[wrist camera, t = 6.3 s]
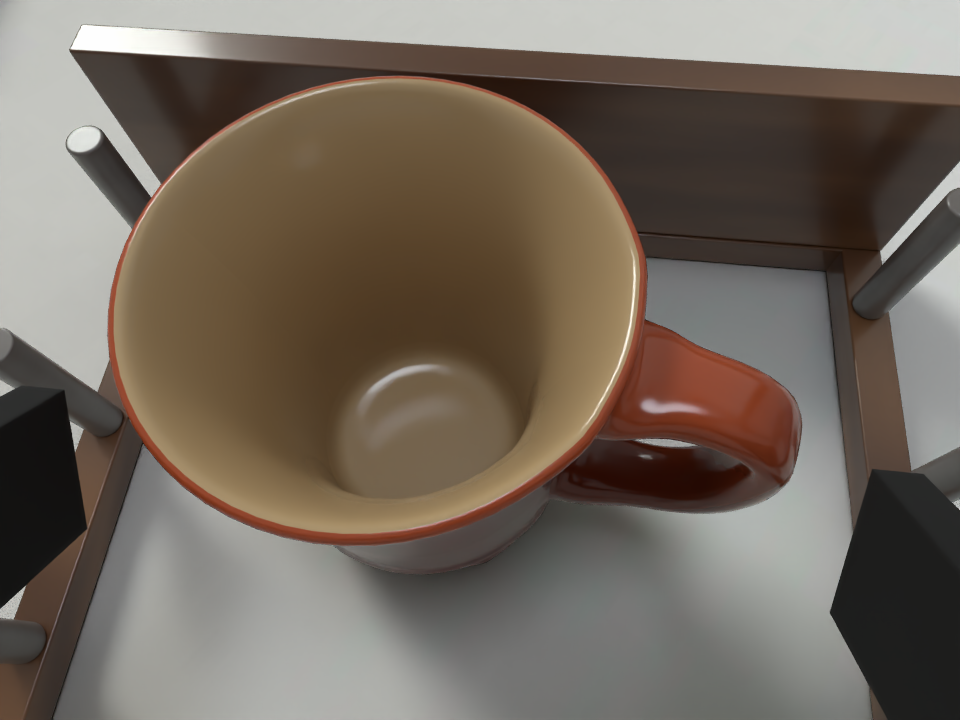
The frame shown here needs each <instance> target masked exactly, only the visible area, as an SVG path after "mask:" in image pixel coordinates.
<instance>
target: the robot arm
mask: <svg viewBox="0 0 960 720" xmlns="http://www.w3.org/2000/svg"><path fill="white" fill-rule="evenodd" d="M86 530H87V523H86V516H85V510H84V504H83V498H82V492H81V486H80V480H79V474H78V468H77V462H76V456H75V450H74V444H73V438H72V432H71V426H70V420H69V414H68V408H67V402H66V396H65V390H63V389H52V388H42V387H32V386H22V385H21V386H19V387H18V388H16V389H14V390H12V391H10V392H8V393H6V394H4V395H3V396H1V397H0V608H2V607H3V606H4V605H5V604H6V603H7V602H8V601H9V600H10V599H11V598H12V597H14V596H15V595H16V594H17V593H18V592H19V591H20V590H21V589H22V588H23V587H24V586H26V585H27V584H28V583H29V582H30V581H31V580H32V579H33V578H34V577H35V576H37V575H38V574H39V573H40V572H41V571H42V570H43V569H44V568H45V567H46V566H47V565H49V564H50V563H51V562H52V561H53V560H54V559H55V558H56V557H57V556H58V555H59V554H61V553H62V552H63V551H64V550H65V549H66V548H67V547H68V546H69V545H70V544H71V543H73V542H74V541H75V540H76V539H77V538H78V537H79V536H80V535H81V534H82V533H83V532H85V531H86ZM830 614H831V616H832V618H833V619H834V621H835V623H836V625H837V627H838V629H839V631H840V632H841V634H842V636H843V638H844V640H845V642H846V644H847V645H848V647H849V649H850V651H851V653H852V655H853V657H854V658H855V660H856V662H857V664H858V666H859V668H860V669H861V671H862V673H863V675H864V677H865V679H866V681H867V682H868V684H869V686H870V688H871V690H872V692H873V694H874V695H875V697H876V699H877V701H878V703H879V705H880V707H881V708H882V710H883V712H884V714H885V716H886V718H887V720H960V510H959V509H958V508H957V507H956V506H955V505H954V504H953V503H952V502H951V501H950V500H949V499H948V498H947V497H946V496H945V495H944V494H943V493H942V492H941V491H940V490H939V489H938V488H937V487H936V486H935V485H934V484H933V483H932V482H931V481H930V480H929V479H928V478H927V477H926V476H925V475H924V474H920V473H910V472H899V471H889V470H879V469H872V471H871V474H870V477H869V481H868V484H867V488H866V491H865V494H864V498H863V501H862V505H861V508H860V511H859V515H858V518H857V522H856V525H855V529H854V532H853V535H852V539H851V542H850V546H849V549H848V552H847V556H846V559H845V563H844V566H843V569H842V573H841V576H840V580H839V583H838V586H837V590H836V593H835V597H834V600H833V603H832V607H831V610H830Z"/></svg>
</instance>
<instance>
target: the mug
mask: <svg viewBox="0 0 960 720" xmlns="http://www.w3.org/2000/svg"><path fill="white" fill-rule="evenodd" d="M647 280H648V275H647V265H646V256H645V253H644V249H643V246H642V243H641V240H640V238H639V235H638V232H637V230H636V228H635V225H634V223H633V221H632V218H631V216H630V214H629V212H628V210H627V208H626V206H625V204H624V202H623V200H622V198H621V197H620V195H619V193H618V192H617V190H616V188H615V187H614V185H613V184H612V182H611V180H610V179H609V177H608V176H607V175H606V173H605V172H604V171H603V170H602V168H601V167H600V166H599V164H598V163H597V162H596V161H595V159H594V158H593V157H592V156H591V155H590V154H589V153H588V152H587V151H586V150H585V149H584V148H583V147H582V146H581V145H580V144H579V143H578V142H577V141H576V140H574V139H573V138H572V137H571V136H570V135H569V134H567V133H566V132H565V131H564V130H562V129H561V128H560V127H558V126H557V125H555V124H554V123H553V122H551V121H550V120H548V119H547V118H545V117H544V116H542V115H540V114H539V113H537V112H535V111H533V110H532V109H530V108H528V107H527V106H524V105H522V104H520V103H518V102H516V101H514V100H512V99H510V98H507V97H505V96H502V95H499V94H497V93H494V92H491V91H489V90H486V89H482V88H479V87H475V86H472V85H468V84H464V83H459V82H454V81H449V80H444V79H436V78H428V77H416V76H376V77H366V78H355V79H350V80H344V81H338V82H332V83H328V84H324V85H320V86H316V87H312V88H309V89H306V90H303V91H300V92H296V93H293V94H290V95H288V96H285V97H283V98H280V99H278V100H275V101H273V102H270V103H268V104H266V105H264V106H262V107H260V108H258V109H256V110H254V111H252V112H250V113H248V114H246V115H244V116H243V117H241V118H239V119H238V120H236V121H234V122H233V123H231V124H229V125H228V126H226V127H225V128H223V129H222V130H220V131H219V132H218V133H216V134H215V135H213V136H212V137H210V138H209V139H208V140H207V141H205V142H204V143H203V144H202V145H200V146H199V147H198V148H197V149H196V150H194V151H193V152H192V153H191V154H190V155H189V156H188V157H187V158H186V159H185V160H184V161H183V162H182V163H181V164H180V165H178V166H177V167H176V168H175V169H174V171H173V172H172V173H171V174H170V175H169V176H168V177H167V179H166V180H165V181H164V182H163V183H162V184H161V185H160V187H159V188H158V189H157V191H156V192H155V194H154V195H153V196H152V198H151V199H150V200H149V202H148V203H147V205H146V206H145V208H144V210H143V211H142V213H141V215H140V216H139V218H138V220H137V221H136V223H135V225H134V227H133V229H132V231H131V233H130V235H129V237H128V239H127V241H126V243H125V246H124V248H123V251H122V254H121V257H120V259H119V262H118V265H117V268H116V272H115V276H114V280H113V284H112V288H111V294H110V301H109V309H108V333H107V336H108V347H109V358H110V363H111V368H112V373H113V377H114V382H115V385H116V388H117V391H118V394H119V397H120V399H121V402H122V405H123V407H124V409H125V411H126V413H127V415H128V417H129V419H130V422H131V424H132V426H133V427H134V429H135V431H136V432H137V434H138V435H139V437H140V438H141V440H142V441H143V443H144V444H145V446H146V448H147V449H148V450H149V452H150V453H151V454H152V455H153V456H154V458H155V459H156V460H157V461H158V462H159V464H160V465H161V466H162V467H163V468H164V469H165V470H166V471H167V472H168V473H169V474H170V475H171V476H172V477H173V478H174V479H175V480H176V481H177V482H178V483H179V484H180V485H182V486H183V487H184V488H185V489H186V490H188V491H189V492H190V493H192V494H193V495H195V496H196V497H197V498H199V499H200V500H201V501H203V502H204V503H205V504H207V505H209V506H211V507H212V508H214V509H216V510H217V511H219V512H221V513H223V514H224V515H226V516H228V517H230V518H232V519H234V520H237V521H239V522H241V523H243V524H246V525H248V526H250V527H253V528H255V529H258V530H261V531H264V532H267V533H271V534H274V535H277V536H280V537H283V538H288V539H293V540H298V541H303V542H308V543H313V544H322V545H333V546H334V547H335V548H337V549H338V550H340V551H341V552H342V553H344V554H346V555H348V556H349V557H351V558H353V559H355V560H357V561H359V562H361V563H364V564H366V565H368V566H371V567H375V568H378V569H381V570H385V571H390V572H395V573H402V574H435V573H443V572H448V571H453V570H457V569H460V568H464V567H467V566H472V565H477V564H482V563H485V562H488V561H489V560H491V559H492V558H494V557H495V556H496V555H498V554H499V553H501V552H502V551H503V550H504V549H506V548H507V547H508V546H510V545H511V544H512V543H513V542H515V541H516V540H517V539H518V538H519V537H520V536H522V535H523V534H524V533H525V532H526V531H527V530H528V529H529V528H530V527H531V526H532V525H533V524H534V523H535V522H536V521H537V519H538V518H539V517H540V515H541V514H542V512H543V511H544V509H545V507H546V505H547V504H548V502H549V500H559V501H565V502H570V503H576V504H585V505H617V506H631V507H640V508H647V509H654V510H660V511H668V512H677V513H691V514H710V513H723V512H729V511H735V510H739V509H743V508H747V507H750V506H753V505H756V504H759V503H761V502H763V501H765V500H767V499H769V498H770V497H772V496H773V495H775V494H776V493H778V492H779V491H780V490H781V489H782V488H783V487H784V486H785V485H786V484H787V483H788V482H789V480H790V478H791V476H792V474H793V472H794V468H795V465H796V461H797V456H798V451H799V446H800V440H801V433H802V418H801V413H800V410H799V407H798V405H797V402H796V400H795V398H794V397H793V396H792V395H791V393H790V392H789V391H788V390H787V389H786V388H785V387H784V386H782V385H781V384H780V383H778V382H777V381H776V380H774V379H773V378H772V377H770V376H769V375H767V374H765V373H763V372H761V371H760V370H758V369H756V368H753V367H751V366H749V365H747V364H744V363H742V362H739V361H737V360H734V359H731V358H729V357H726V356H723V355H720V354H718V353H715V352H712V351H710V350H707V349H705V348H702V347H700V346H698V345H696V344H694V343H692V342H691V341H689V340H687V339H685V338H684V337H682V336H680V335H679V334H677V333H675V332H674V331H672V330H670V329H667V328H665V327H663V326H660V325H658V324H655V323H652V322H650V321H647V320H645V311H646V299H647ZM637 439H670V440H678V441H682V442H687V443H691V444H695V445H698V446H690V447H667V446H658V445H652V444H648V443H643V442H640V441H636V440H637Z"/></svg>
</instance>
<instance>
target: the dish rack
mask: <svg viewBox="0 0 960 720" xmlns="http://www.w3.org/2000/svg"><path fill="white" fill-rule="evenodd" d="M69 51H70V53H71V54H72V56H73V57H74V59H75V60H76V62H77V63H78V64H79V66H80V67H81V69H82V70H83V72H84V73H85V75H86V76H87V77H88V79H89V80H90V82H91V83H92V85H93V86H94V88H95V89H96V90H97V92H98V93H99V95H100V96H101V98H102V99H103V101H104V102H105V103H106V105H107V106H108V108H109V109H110V111H111V112H112V114H113V115H114V116H115V118H116V119H117V121H118V122H119V124H120V125H121V127H122V128H123V129H124V131H125V132H126V134H127V135H128V137H129V138H130V139H131V141H132V142H133V144H134V145H135V147H136V148H137V150H138V151H139V152H140V154H141V155H142V157H143V158H144V160H145V161H146V163H147V164H148V165H149V167H150V168H151V170H152V171H153V173H154V174H155V176H156V177H157V178H158V180H159V181H160V183H161V184H162V183H163V182H164V181H165V180H166V179H167V177H168V176H169V175H170V174H171V173H172V172H173V171H174V169H175V168H176V167H177V166H178V165H180V164H181V163H182V162H183V161H184V160H185V159H186V158H187V157H188V156H189V155H190V154H191V153H192V152H193V151H194V150H196V149H197V148H198V147H199V146H200V145H202V144H203V143H204V142H205V141H207V140H208V139H209V138H210V137H212V136H213V135H215V134H216V133H218V132H219V131H220V130H222V129H223V128H225V127H226V126H228V125H229V124H231V123H233V122H234V121H236V120H238V119H239V118H241V117H243V116H244V115H246V114H248V113H250V112H252V111H254V110H256V109H258V108H260V107H262V106H264V105H266V104H268V103H270V102H273V101H275V100H278V99H280V98H283V97H285V96H288V95H290V94H293V93H296V92H300V91H303V90H306V89H309V88H312V87H316V86H320V85H324V84H328V83H332V82H338V81H344V80H350V79H355V78H366V77H376V76H416V77H428V78H436V79H444V80H449V81H454V82H459V83H464V84H468V85H472V86H475V87H479V88H482V89H486V90H489V91H491V92H494V93H497V94H499V95H502V96H505V97H507V98H510V99H512V100H514V101H516V102H518V103H520V104H522V105H524V106H527V107H528V108H530V109H532V110H533V111H535V112H537V113H539V114H540V115H542V116H544V117H545V118H547V119H548V120H550V121H551V122H553V123H554V124H555V125H557V126H558V127H560V128H561V129H562V130H564V131H565V132H566V133H567V134H569V135H570V136H571V137H572V138H573V139H574V140H576V141H577V142H578V143H579V144H580V145H581V146H582V147H583V148H584V149H585V150H586V151H587V152H588V153H589V154H590V155H591V156H592V157H593V158H594V159H595V161H596V162H597V163H598V164H599V166H600V167H601V168H602V170H603V171H604V172H605V173H606V175H607V176H608V177H609V179H610V180H611V182H612V184H613V185H614V187H615V188H616V190H617V192H618V193H619V195H620V197H621V198H622V200H623V202H624V204H625V206H626V208H627V210H628V212H629V214H630V216H631V218H632V221H633V223H634V225H635V228H636V230H637V232H638V235H639V238H640V240H641V243H642V246H643V249H644V253H645V256H648V257H660V258H673V259H685V260H697V261H710V262H722V263H735V264H747V265H760V266H772V267H785V268H797V269H809V270H822V271H827V281H828V291H829V300H830V310H831V319H832V329H833V339H834V348H835V358H836V368H837V377H838V387H839V397H840V406H841V416H842V426H843V435H844V445H845V455H846V464H847V474H848V483H849V493H850V503H851V512H852V522H853V532H854V529H855V525H856V522H857V518H858V515H859V511H860V508H861V505H862V501H863V498H864V494H865V491H866V488H867V484H868V481H869V477H870V474H871V471H872V469H879V470H889V471H899V472H910V473H920V474H924V475H925V476H926V477H927V478H928V479H929V480H930V481H931V482H932V483H933V484H934V485H935V486H936V487H937V488H938V489H939V490H940V491H941V492H942V493H943V494H944V495H945V496H946V497H947V498H948V499H949V500H950V501H951V502H954V501H957V500H959V499H960V447H959V448H957V449H955V450H953V451H951V452H949V453H947V454H945V455H943V456H941V457H939V458H937V459H935V460H933V461H931V462H929V463H927V464H925V465H923V466H921V467H919V468H917V469H915V470H913V471H911V465H910V458H909V451H908V444H907V437H906V430H905V423H904V416H903V409H902V402H901V395H900V388H899V381H898V374H897V367H896V360H895V353H894V346H893V339H892V332H891V325H890V318H889V310H890V309H891V308H892V307H893V306H894V305H895V304H897V303H898V302H899V301H900V300H901V299H902V298H903V297H904V296H905V295H906V294H907V293H908V292H909V291H910V290H911V289H912V288H913V287H914V286H915V285H917V284H918V283H919V282H920V281H921V280H922V279H923V278H924V277H925V276H926V275H927V274H928V273H929V272H930V271H931V270H932V269H933V268H934V267H935V266H937V265H938V264H939V263H940V262H941V261H942V260H943V259H944V258H945V257H946V256H947V255H948V254H949V253H950V252H951V251H952V250H953V249H954V248H955V247H957V246H958V245H959V244H960V188H957V189H954V190H952V191H950V192H949V193H948V194H947V195H946V196H945V197H944V198H943V200H942V201H941V202H940V203H939V204H938V205H937V206H936V207H935V208H934V209H933V210H932V212H931V213H930V214H929V215H928V216H927V217H926V218H925V219H924V220H923V221H922V222H921V223H920V225H919V226H918V227H917V228H916V229H915V230H914V231H913V232H912V233H911V234H910V235H909V237H908V238H907V239H906V240H905V241H904V242H903V243H902V244H901V245H900V246H899V247H898V248H897V250H896V251H895V252H894V253H893V254H892V255H891V256H890V257H889V258H888V259H887V260H886V262H885V263H884V264H883V265H882V262H881V255H880V250H882V249H883V248H884V246H885V245H886V244H887V243H888V242H889V241H890V240H891V239H892V237H893V236H894V235H895V234H896V233H897V232H898V231H899V230H900V228H901V227H902V226H903V225H904V224H905V223H906V222H907V220H908V219H909V218H910V217H911V216H912V215H913V214H914V213H915V211H916V210H917V209H918V208H919V207H920V206H921V205H922V204H923V202H924V201H925V200H926V199H927V198H928V197H929V196H930V194H931V193H932V192H933V191H934V190H935V189H936V188H937V187H938V185H939V184H940V183H941V182H942V181H943V180H944V179H945V178H946V176H947V175H948V174H949V173H950V172H951V171H952V170H953V168H954V167H955V166H956V165H957V164H958V163H959V162H960V76H948V75H931V74H914V73H897V72H880V71H863V70H847V69H830V68H813V67H796V66H779V65H762V64H745V63H728V62H711V61H694V60H677V59H660V58H643V57H626V56H609V55H592V54H576V53H559V52H542V51H525V50H508V49H491V48H474V47H457V46H440V45H423V44H406V43H389V42H372V41H355V40H338V39H321V38H305V37H288V36H271V35H254V34H237V33H220V32H203V31H186V30H169V29H152V28H135V27H118V26H101V25H84V24H83V25H81V27H80V29H79V31H78V33H77V35H76V37H75V39H74V41H73V43H72V45H71V47H70V49H69ZM66 148H67V150H68V152H69V153H70V154H71V155H72V157H73V158H74V159H75V160H76V161H77V163H78V164H79V165H80V166H81V168H82V169H83V170H84V171H85V172H86V174H87V175H88V176H89V177H90V178H91V180H92V181H93V182H94V183H95V184H96V186H97V187H98V188H99V189H100V190H101V192H102V193H103V194H104V195H105V197H106V198H107V199H108V200H109V201H110V203H111V204H112V205H113V206H114V207H115V209H116V210H117V211H118V212H119V213H120V215H121V216H122V217H123V218H124V219H125V221H126V222H127V223H128V224H129V226H130V227H131V228H132V229H133V227H134V225H135V223H136V221H137V220H138V218H139V216H140V215H141V213H142V211H143V210H144V208H145V206H146V205H147V203H148V202H149V200H150V199H151V197H150V195H149V194H148V192H147V191H146V190H145V188H144V187H143V186H142V184H141V183H140V182H139V180H138V179H137V177H136V176H135V175H134V173H133V172H132V171H131V169H130V168H129V167H128V165H127V164H126V162H125V161H124V160H123V158H122V157H121V156H120V154H119V153H118V152H117V150H116V149H115V147H114V146H113V145H112V143H111V142H110V141H109V139H108V138H107V137H106V135H105V134H104V132H103V131H102V130H101V129H99V128H97V127H95V126H83V127H80V128H77V129H76V130H74V131H73V132H71V133H70V135H69V136H68V137H67V140H66ZM0 380H2V381H3V382H5V383H7V384H8V385H10V386H12V387H14V388H15V389H16V388H18V387H19V386H21V385H22V386H32V387H42V388H52V389H63V390H65V396H66V402H67V408H68V414H69V420H70V421H71V422H73V423H74V424H76V425H78V426H79V427H81V428H83V429H84V430H83V433H82V436H81V439H80V441H79V444H78V447H77V449H76V452H75V456H76V462H77V468H78V474H79V480H80V486H81V492H82V498H83V504H84V510H85V516H86V523H87V530H86V531H85V532H83V533H82V534H81V535H80V536H79V537H78V538H77V539H76V540H75V541H74V542H73V543H71V544H70V545H69V546H68V547H67V548H66V549H65V550H64V551H63V552H62V553H61V554H59V555H58V556H57V557H56V558H55V559H54V560H53V561H52V562H51V563H50V564H49V565H47V566H46V567H45V568H44V569H43V570H42V571H41V572H40V573H39V574H38V575H37V576H35V577H34V578H33V579H32V580H31V581H30V582H29V583H28V584H27V585H26V588H25V591H24V593H23V596H22V599H21V601H20V604H19V607H18V610H17V612H16V615H15V618H14V619H5V618H0V720H51V718H52V715H53V712H54V709H55V706H56V703H57V700H58V697H59V694H60V691H61V688H62V685H63V682H64V679H65V676H66V673H67V669H68V666H69V663H70V660H71V657H72V654H73V651H74V648H75V645H76V642H77V639H78V636H79V633H80V630H81V627H82V624H83V621H84V618H85V615H86V612H87V609H88V606H89V603H90V600H91V597H92V594H93V591H94V588H95V584H96V581H97V578H98V575H99V572H100V569H101V566H102V563H103V560H104V557H105V554H106V551H107V548H108V545H109V542H110V539H111V536H112V533H113V530H114V527H115V524H116V521H117V518H118V515H119V512H120V509H121V506H122V503H123V499H124V496H125V493H126V490H127V487H128V484H129V481H130V478H131V475H132V472H133V469H134V466H135V463H136V460H137V457H138V454H139V451H140V448H141V445H142V442H143V441H142V440H141V438H140V437H139V435H138V434H137V432H136V431H135V429H134V427H133V426H132V424H131V422H130V419H129V417H128V415H127V413H126V411H125V409H124V407H123V405H122V402H121V399H120V397H119V394H118V391H117V388H116V385H115V382H114V377H113V373H112V368H111V363H110V360H109V363H108V365H107V368H106V371H105V373H104V376H103V379H102V382H101V384H100V387H99V390H98V392H96V391H95V390H93V389H92V388H90V387H89V386H88V385H86V384H85V383H83V382H82V381H80V380H79V379H78V378H76V377H75V376H73V375H72V374H70V373H69V372H68V371H66V370H65V369H63V368H62V367H60V366H59V365H58V364H56V363H55V362H53V361H52V360H50V359H49V358H48V357H46V356H45V355H43V354H42V353H40V352H39V351H38V350H36V349H35V348H33V347H32V346H31V345H29V344H28V343H26V342H25V341H23V340H22V339H21V338H19V337H18V336H16V335H15V334H13V333H12V332H11V331H9V330H7V329H5V328H0ZM870 696H871V705H872V715H873V720H887V718H886V716H885V714H884V712H883V710H882V708H881V707H880V705H879V703H878V701H877V699H876V697H875V695H874V694H873V692H872V690H871V688H870Z"/></svg>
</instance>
